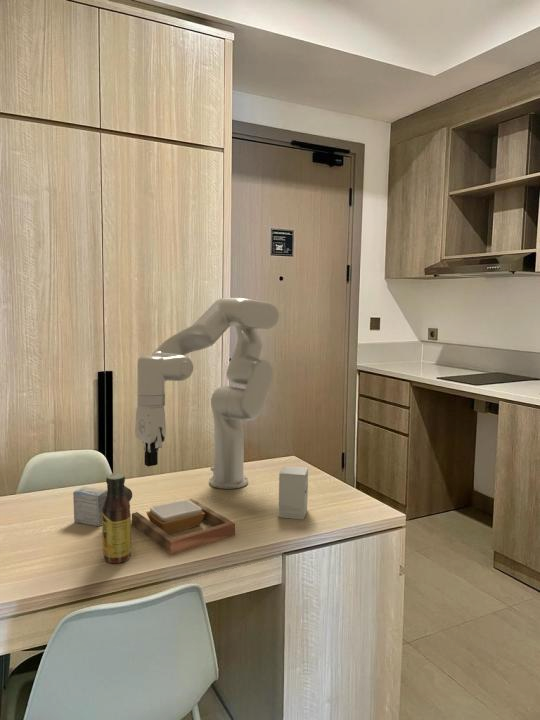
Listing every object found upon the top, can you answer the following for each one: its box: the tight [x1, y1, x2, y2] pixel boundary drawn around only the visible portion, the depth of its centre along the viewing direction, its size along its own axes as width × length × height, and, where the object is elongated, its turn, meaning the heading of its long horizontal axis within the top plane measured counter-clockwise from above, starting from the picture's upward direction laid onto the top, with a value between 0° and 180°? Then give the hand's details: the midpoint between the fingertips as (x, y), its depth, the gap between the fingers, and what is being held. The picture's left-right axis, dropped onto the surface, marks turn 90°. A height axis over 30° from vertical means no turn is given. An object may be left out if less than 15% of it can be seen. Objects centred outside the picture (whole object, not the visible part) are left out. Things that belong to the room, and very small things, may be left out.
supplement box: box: [277, 465, 309, 520], centre depth 154 cm, size 7×7×13 cm
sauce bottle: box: [101, 472, 132, 564], centre depth 126 cm, size 6×6×20 cm
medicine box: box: [72, 486, 107, 527], centre depth 147 cm, size 8×4×9 cm, turn 71°
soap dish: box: [145, 499, 205, 535], centre depth 146 cm, size 12×10×5 cm
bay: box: [124, 485, 236, 555], centre depth 142 cm, size 25×23×11 cm
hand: (151, 464), depth 154 cm, fingers closed
